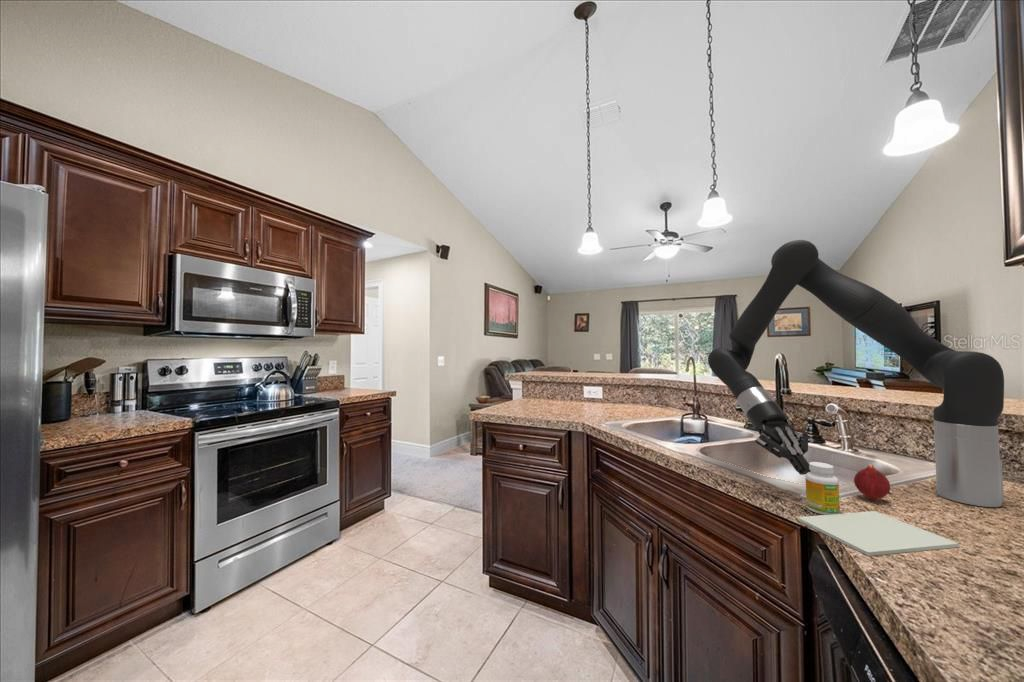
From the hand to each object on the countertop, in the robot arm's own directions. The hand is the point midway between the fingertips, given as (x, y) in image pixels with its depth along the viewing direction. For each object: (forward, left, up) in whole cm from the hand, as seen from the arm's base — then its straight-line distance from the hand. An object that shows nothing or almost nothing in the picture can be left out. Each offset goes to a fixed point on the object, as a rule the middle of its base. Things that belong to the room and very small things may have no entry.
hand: (806, 472), depth 82 cm
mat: (0, +13, -7) cm, 15 cm away
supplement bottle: (0, +4, -7) cm, 8 cm away
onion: (-16, +1, -7) cm, 17 cm away
